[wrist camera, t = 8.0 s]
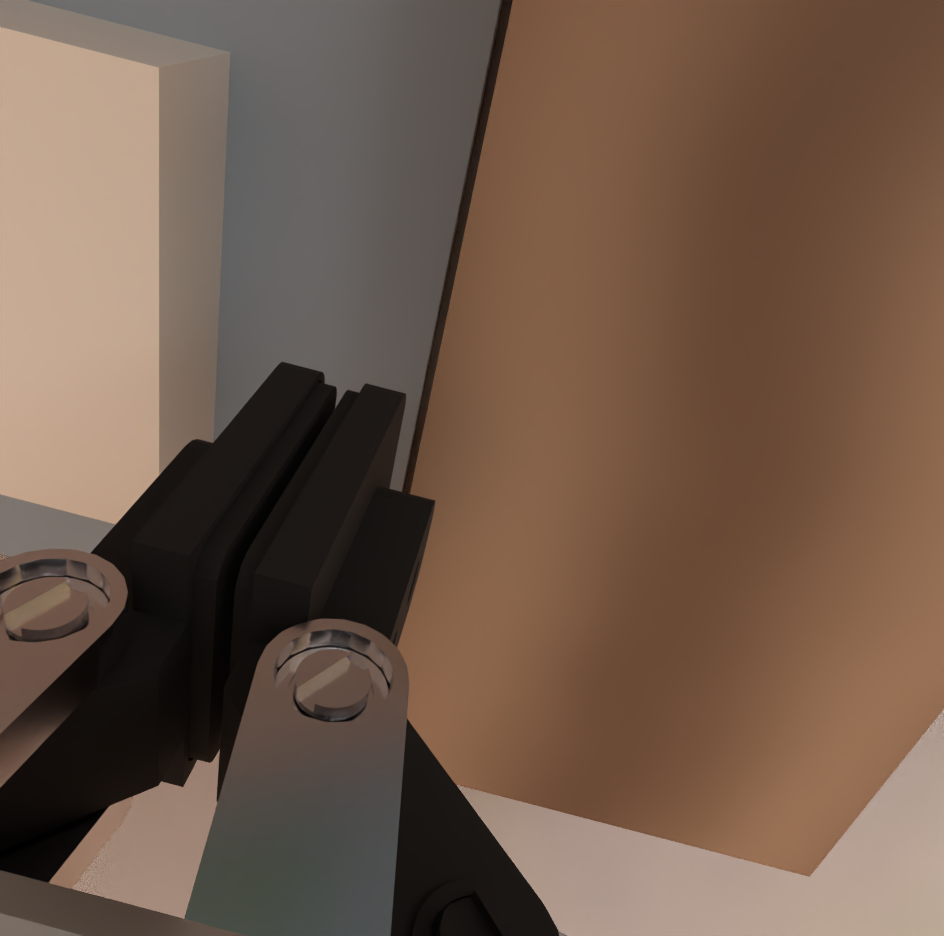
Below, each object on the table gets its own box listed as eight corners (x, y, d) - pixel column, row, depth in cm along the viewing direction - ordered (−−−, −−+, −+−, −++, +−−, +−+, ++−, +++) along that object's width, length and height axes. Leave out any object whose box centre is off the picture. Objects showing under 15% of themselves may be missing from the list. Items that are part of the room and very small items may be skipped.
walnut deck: (1183, 59, 11) (1431, 98, 8) (773, 714, 19) (809, 876, 15) (558, -99, 11) (540, -129, 8) (399, 616, 19) (354, 758, 15)
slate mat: (543, -198, 11) (541, -202, 10) (372, 641, 19) (369, 650, 19) (-537, -473, 11) (-565, -483, 11) (-229, 485, 19) (-240, 491, 19)
